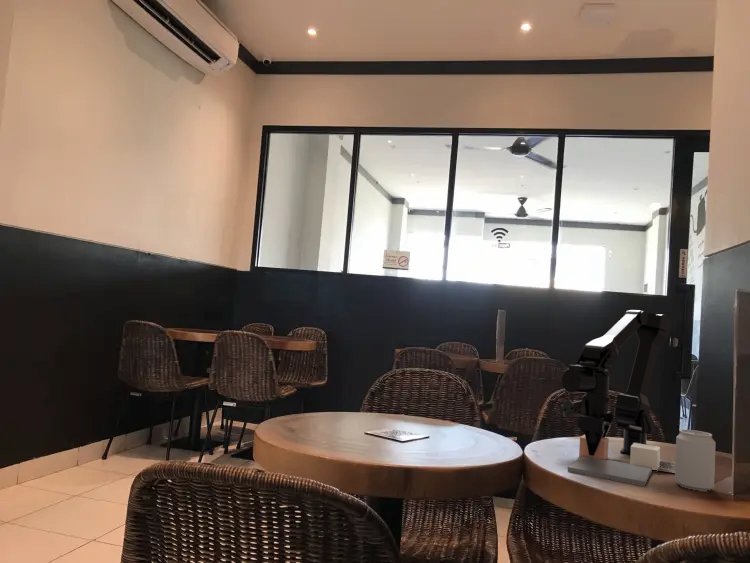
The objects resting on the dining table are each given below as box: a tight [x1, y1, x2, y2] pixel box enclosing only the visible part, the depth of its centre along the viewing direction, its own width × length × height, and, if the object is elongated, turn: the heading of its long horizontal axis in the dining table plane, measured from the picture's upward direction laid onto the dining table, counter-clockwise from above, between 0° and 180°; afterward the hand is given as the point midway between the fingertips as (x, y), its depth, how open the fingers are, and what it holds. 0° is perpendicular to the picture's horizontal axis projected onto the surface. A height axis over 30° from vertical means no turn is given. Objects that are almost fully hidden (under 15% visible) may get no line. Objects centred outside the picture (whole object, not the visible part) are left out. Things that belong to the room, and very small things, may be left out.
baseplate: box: [567, 455, 653, 487], centre depth 134 cm, size 16×16×1 cm
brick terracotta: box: [578, 433, 610, 460], centre depth 149 cm, size 6×6×5 cm
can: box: [674, 429, 716, 492], centre depth 126 cm, size 8×8×12 cm
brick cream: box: [629, 443, 661, 471], centre depth 143 cm, size 6×6×5 cm
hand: (593, 453), depth 149 cm, fingers closed on brick terracotta, 6 cm apart
